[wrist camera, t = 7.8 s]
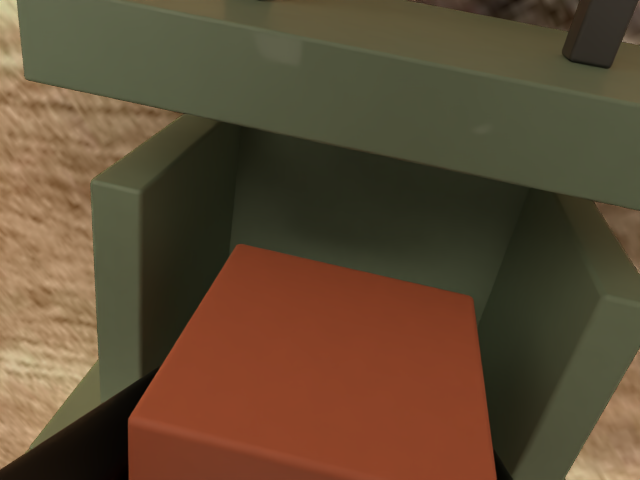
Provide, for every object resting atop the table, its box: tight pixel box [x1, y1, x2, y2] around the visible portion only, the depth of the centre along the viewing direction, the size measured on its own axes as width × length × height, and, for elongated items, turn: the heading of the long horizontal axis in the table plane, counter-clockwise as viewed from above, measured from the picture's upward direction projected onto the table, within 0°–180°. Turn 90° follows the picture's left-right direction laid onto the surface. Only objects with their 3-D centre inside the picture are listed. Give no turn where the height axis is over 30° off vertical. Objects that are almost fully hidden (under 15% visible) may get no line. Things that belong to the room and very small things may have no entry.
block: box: [128, 244, 497, 480], centre depth 8 cm, size 4×4×4 cm
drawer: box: [17, 0, 640, 480], centre depth 11 cm, size 15×9×6 cm, turn 171°
